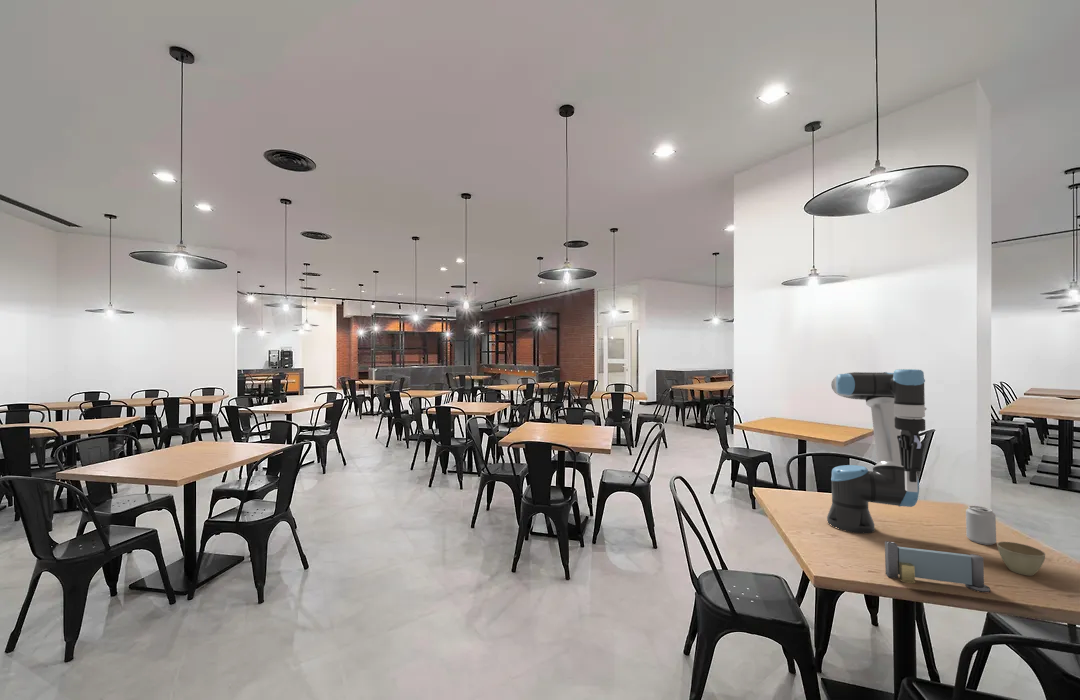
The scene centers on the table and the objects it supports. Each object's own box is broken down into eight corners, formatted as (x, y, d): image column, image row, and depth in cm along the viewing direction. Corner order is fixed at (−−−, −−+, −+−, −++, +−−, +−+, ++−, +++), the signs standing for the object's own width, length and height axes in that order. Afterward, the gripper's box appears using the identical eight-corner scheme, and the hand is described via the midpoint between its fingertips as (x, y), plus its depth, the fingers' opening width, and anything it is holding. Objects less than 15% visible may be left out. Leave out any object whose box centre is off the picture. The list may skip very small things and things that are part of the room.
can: (1002, 546, 150) (1001, 512, 150) (977, 545, 152) (976, 510, 152) (985, 538, 158) (984, 505, 158) (961, 536, 159) (960, 503, 159)
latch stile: (891, 580, 128) (890, 546, 128) (885, 573, 132) (884, 540, 132) (914, 583, 126) (914, 549, 126) (908, 576, 130) (907, 543, 130)
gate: (980, 583, 124) (979, 555, 125) (986, 587, 122) (985, 559, 122) (896, 572, 131) (895, 545, 131) (900, 576, 129) (899, 549, 129)
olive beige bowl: (988, 564, 137) (987, 542, 137) (1016, 563, 138) (1015, 540, 138) (1026, 580, 127) (1025, 556, 127) (1056, 579, 128) (1055, 554, 128)
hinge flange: (965, 588, 123) (965, 585, 123) (964, 581, 127) (964, 579, 127) (990, 594, 120) (990, 591, 120) (988, 587, 124) (988, 584, 124)
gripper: (934, 420, 131) (936, 498, 130) (914, 415, 143) (916, 486, 143) (904, 419, 133) (905, 496, 133) (887, 414, 146) (888, 484, 145)
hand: (911, 491), depth 138 cm, fingers closed
